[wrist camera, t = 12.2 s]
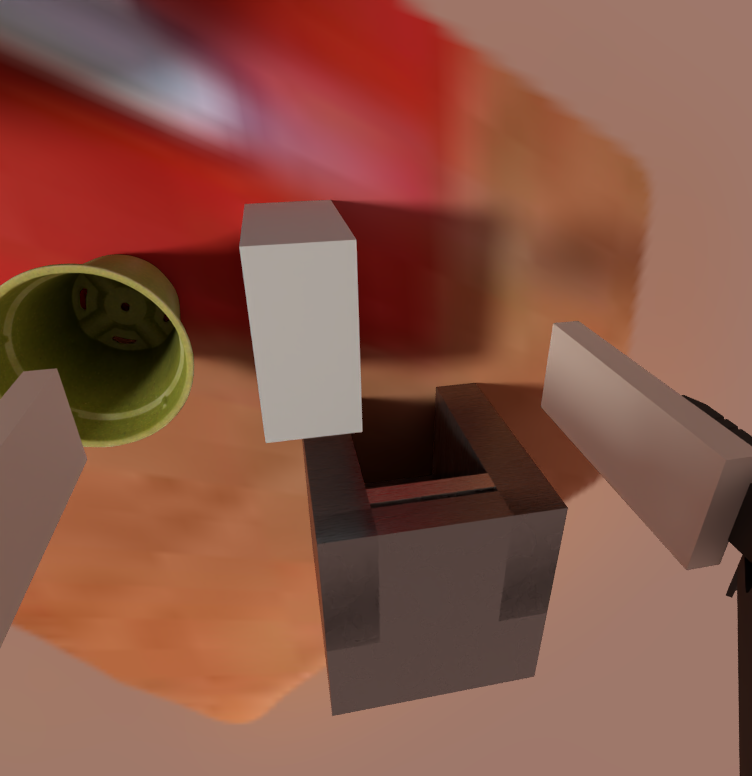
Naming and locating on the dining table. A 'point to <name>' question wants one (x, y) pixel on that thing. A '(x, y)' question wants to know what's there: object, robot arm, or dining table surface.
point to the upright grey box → (303, 318)
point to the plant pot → (100, 344)
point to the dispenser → (433, 561)
